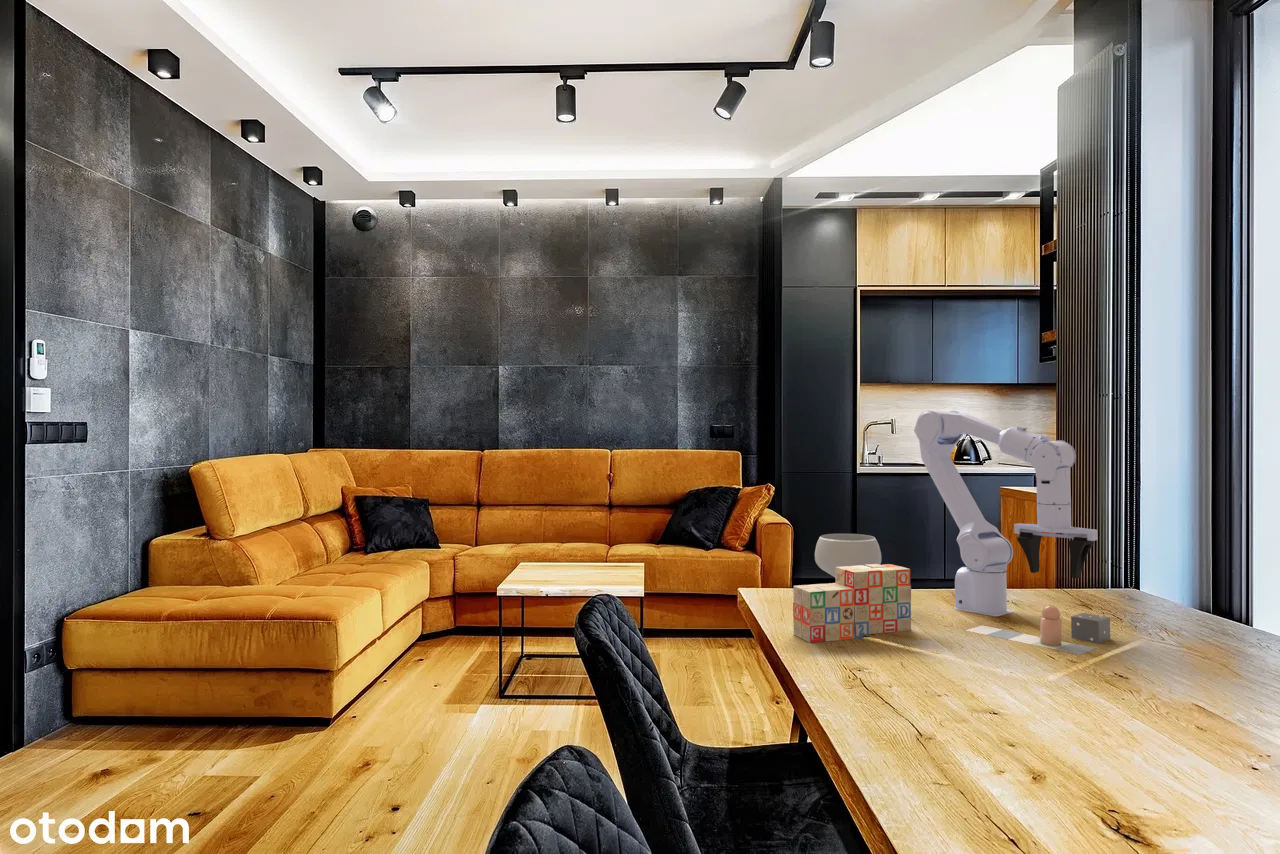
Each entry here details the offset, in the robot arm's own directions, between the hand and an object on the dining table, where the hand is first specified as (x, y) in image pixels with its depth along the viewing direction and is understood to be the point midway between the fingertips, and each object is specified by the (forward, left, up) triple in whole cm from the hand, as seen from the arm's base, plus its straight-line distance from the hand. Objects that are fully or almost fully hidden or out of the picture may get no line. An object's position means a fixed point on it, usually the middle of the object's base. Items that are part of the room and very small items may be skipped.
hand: (1055, 574), depth 144 cm
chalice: (-36, -16, -10) cm, 41 cm away
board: (+2, -15, -10) cm, 18 cm away
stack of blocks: (-21, -34, -10) cm, 41 cm away
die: (+9, -6, -10) cm, 15 cm away
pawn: (+6, -15, -9) cm, 19 cm away
